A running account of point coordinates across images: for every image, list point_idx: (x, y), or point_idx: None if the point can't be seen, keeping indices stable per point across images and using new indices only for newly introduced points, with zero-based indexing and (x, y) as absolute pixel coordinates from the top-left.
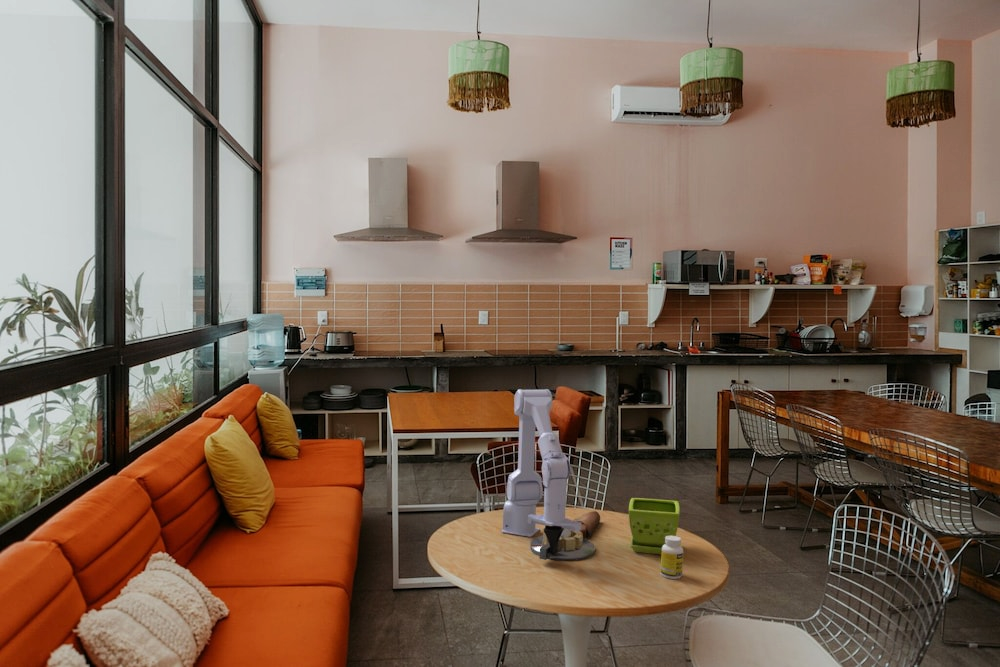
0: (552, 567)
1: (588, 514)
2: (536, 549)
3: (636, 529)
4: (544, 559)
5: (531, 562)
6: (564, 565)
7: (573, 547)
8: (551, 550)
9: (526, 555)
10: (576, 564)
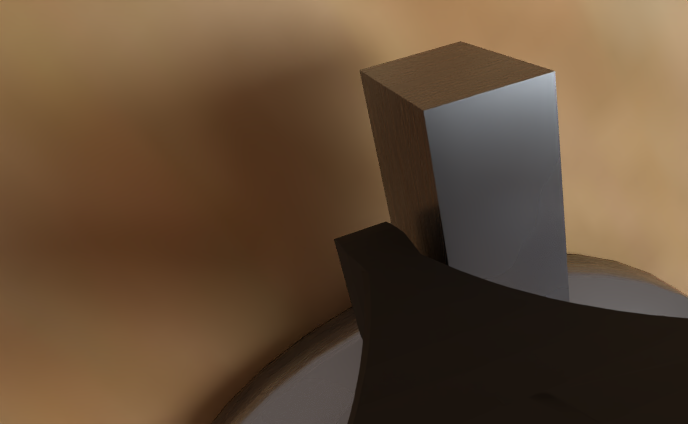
0: (236, 85)
1: None
2: (645, 296)
3: None
4: (383, 66)
5: (541, 23)
6: (172, 258)
7: None
8: (381, 242)
9: (677, 160)
10: (92, 387)
